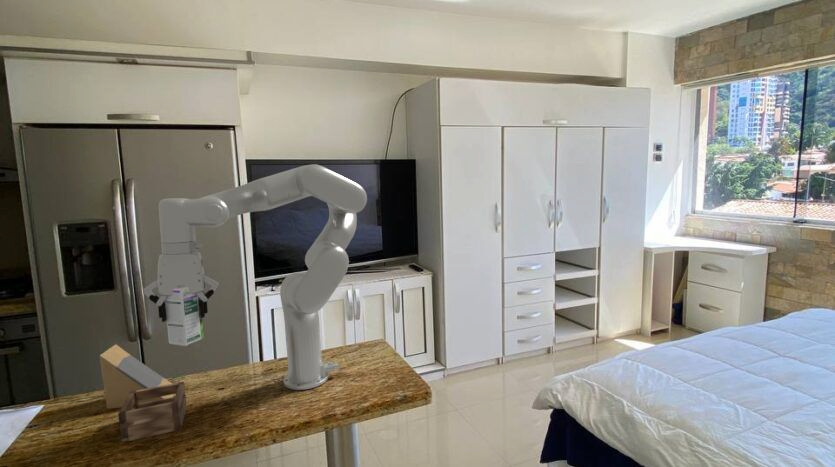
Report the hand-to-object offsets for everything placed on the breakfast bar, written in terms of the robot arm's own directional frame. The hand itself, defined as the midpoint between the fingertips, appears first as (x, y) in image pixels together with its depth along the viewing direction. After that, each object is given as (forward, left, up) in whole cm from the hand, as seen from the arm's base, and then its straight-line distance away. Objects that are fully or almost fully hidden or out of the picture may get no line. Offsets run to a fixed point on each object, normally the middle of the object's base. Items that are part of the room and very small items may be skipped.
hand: (184, 317), depth 110 cm
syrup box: (0, 0, -6) cm, 6 cm away
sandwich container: (+14, -14, -25) cm, 32 cm away
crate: (+8, +2, -25) cm, 26 cm away
